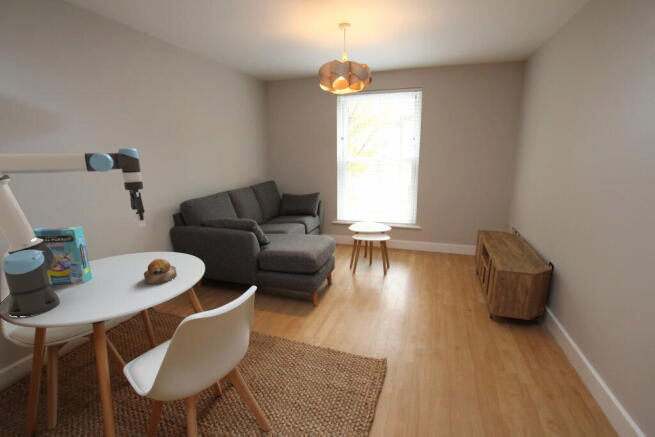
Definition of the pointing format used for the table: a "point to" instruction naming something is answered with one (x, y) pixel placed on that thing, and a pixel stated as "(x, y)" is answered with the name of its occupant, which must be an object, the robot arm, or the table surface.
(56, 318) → the table surface
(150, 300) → the table surface
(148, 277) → the walnut stand
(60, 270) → the game box
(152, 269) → the bread roll
